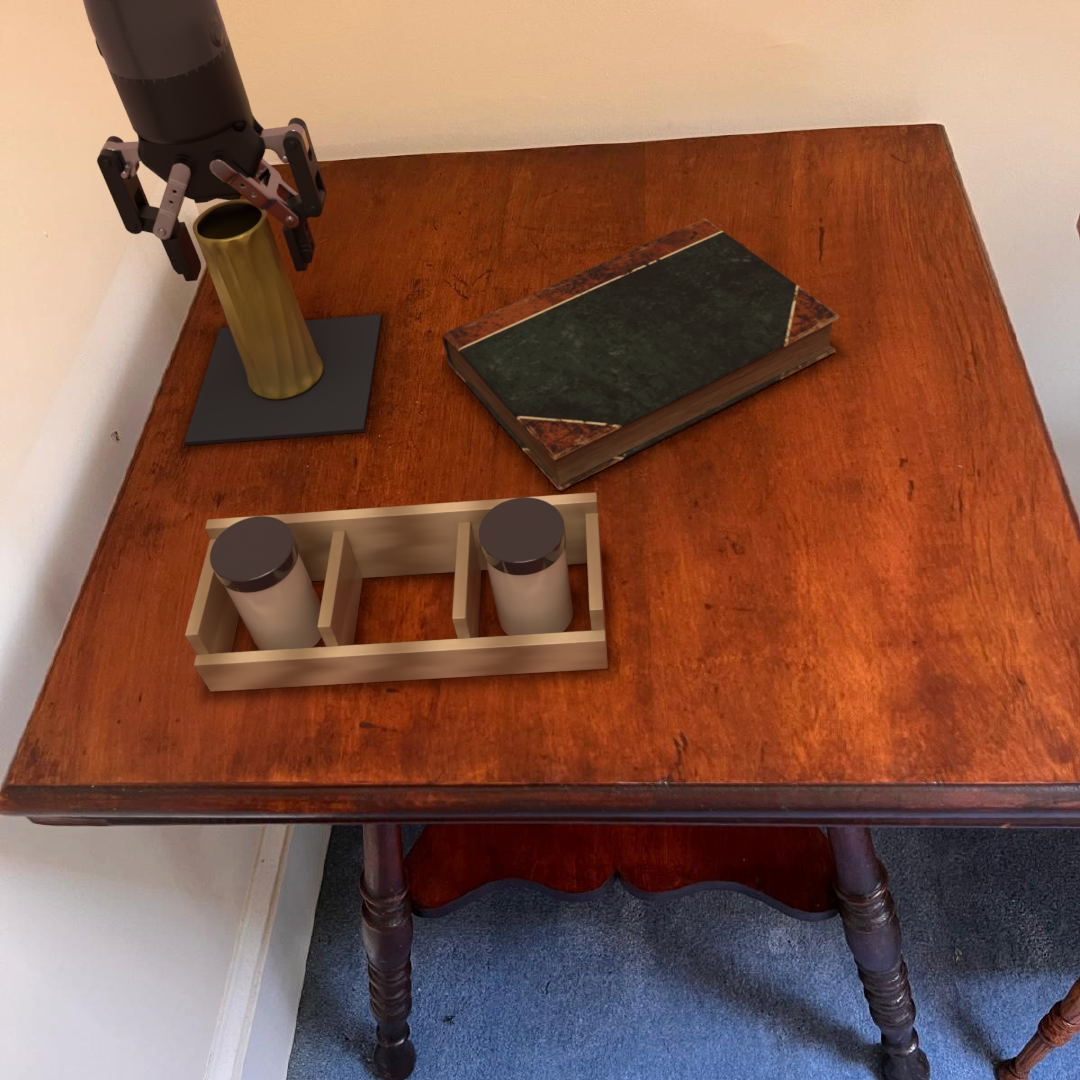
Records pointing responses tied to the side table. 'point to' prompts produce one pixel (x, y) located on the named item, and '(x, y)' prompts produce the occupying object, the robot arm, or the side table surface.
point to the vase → (258, 299)
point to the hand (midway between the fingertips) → (248, 269)
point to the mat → (319, 411)
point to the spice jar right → (527, 566)
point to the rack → (394, 550)
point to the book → (637, 349)
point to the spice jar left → (268, 583)
